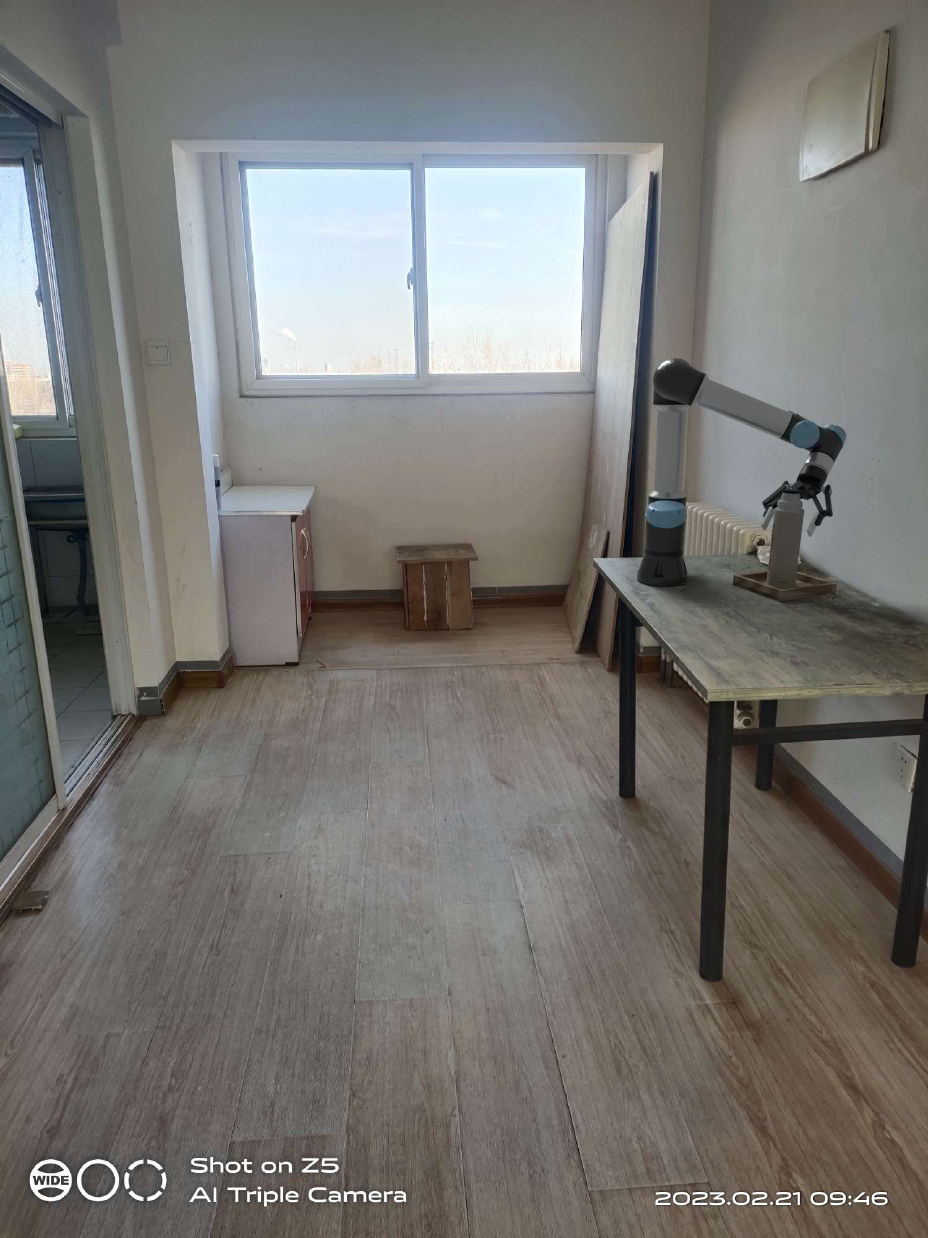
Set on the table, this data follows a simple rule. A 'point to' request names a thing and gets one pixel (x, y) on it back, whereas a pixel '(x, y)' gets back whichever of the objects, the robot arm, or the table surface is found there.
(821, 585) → the walnut tray
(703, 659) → the table surface
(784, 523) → the thermos bottle
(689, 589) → the table surface
